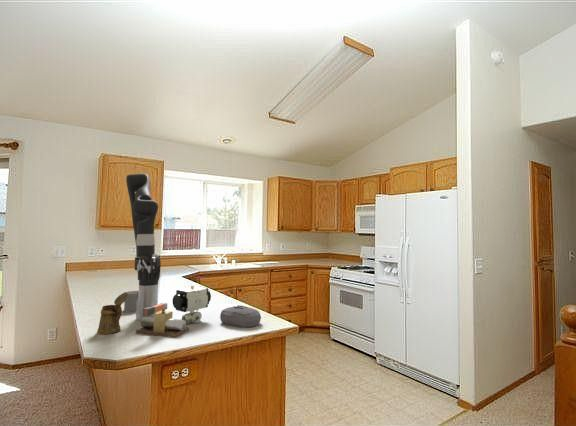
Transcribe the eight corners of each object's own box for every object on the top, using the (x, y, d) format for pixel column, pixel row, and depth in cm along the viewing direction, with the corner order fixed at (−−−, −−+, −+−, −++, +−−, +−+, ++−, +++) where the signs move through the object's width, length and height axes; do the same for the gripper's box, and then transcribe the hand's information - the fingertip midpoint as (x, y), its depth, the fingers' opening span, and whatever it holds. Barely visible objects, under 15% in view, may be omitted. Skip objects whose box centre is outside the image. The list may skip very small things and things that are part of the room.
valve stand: (135, 333, 144) (136, 310, 145) (150, 327, 154) (151, 306, 154) (175, 337, 139) (176, 313, 139) (188, 330, 148) (189, 308, 149)
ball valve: (181, 327, 153) (182, 289, 154) (171, 324, 158) (172, 287, 159) (212, 319, 167) (213, 284, 168) (202, 317, 172) (202, 282, 173)
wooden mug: (115, 337, 139) (116, 293, 140) (92, 333, 144) (94, 291, 145) (132, 331, 147) (133, 290, 148) (109, 328, 152) (111, 288, 153)
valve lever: (162, 308, 149) (162, 302, 149) (168, 308, 148) (168, 302, 148) (141, 315, 136) (142, 308, 136) (148, 316, 135) (148, 309, 135)
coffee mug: (132, 312, 182) (133, 294, 182) (120, 310, 186) (120, 292, 186) (151, 307, 194) (152, 290, 194) (139, 306, 198) (140, 289, 199)
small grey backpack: (216, 324, 160) (248, 330, 149) (216, 306, 160) (248, 312, 150) (236, 317, 173) (267, 323, 162) (236, 301, 173) (267, 306, 163)
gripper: (129, 244, 149) (129, 280, 148) (146, 244, 141) (146, 283, 140) (144, 243, 155) (144, 278, 154) (162, 244, 147) (162, 280, 146)
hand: (145, 280), depth 147 cm, fingers open, 8 cm apart
